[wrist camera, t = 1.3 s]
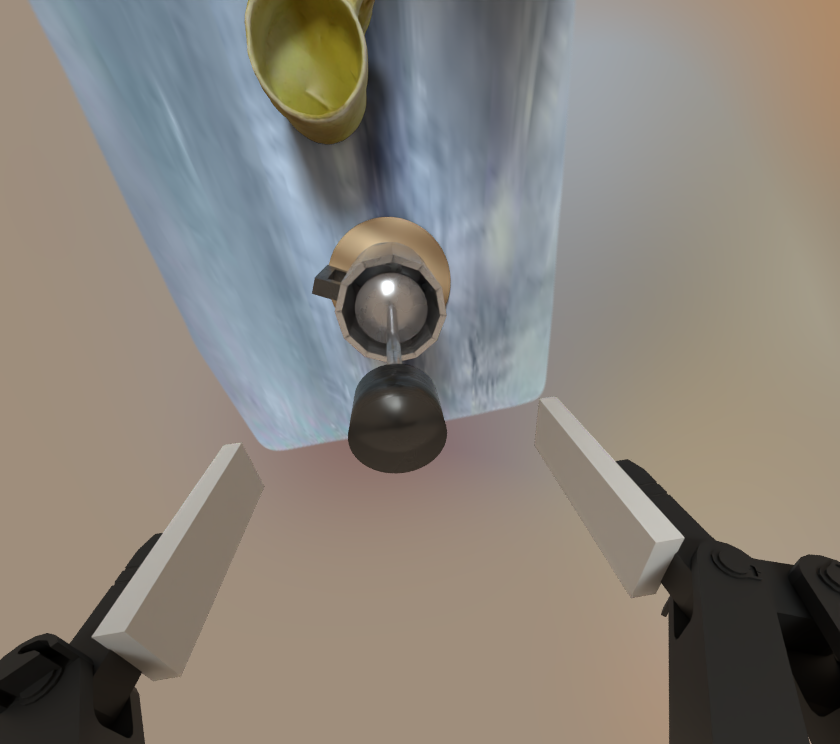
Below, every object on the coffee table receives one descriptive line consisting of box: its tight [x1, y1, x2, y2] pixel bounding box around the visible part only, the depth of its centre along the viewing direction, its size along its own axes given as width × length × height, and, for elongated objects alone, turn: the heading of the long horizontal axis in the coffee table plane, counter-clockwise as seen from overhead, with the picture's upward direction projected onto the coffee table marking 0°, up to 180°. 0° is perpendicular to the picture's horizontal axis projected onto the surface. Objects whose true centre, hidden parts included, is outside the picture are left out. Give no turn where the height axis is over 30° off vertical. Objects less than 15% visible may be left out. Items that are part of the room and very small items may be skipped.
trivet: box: [329, 217, 450, 308], centre depth 40 cm, size 16×16×1 cm
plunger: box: [348, 272, 447, 473], centre depth 22 cm, size 7×7×20 cm
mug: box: [245, 0, 375, 144], centre depth 27 cm, size 12×10×10 cm
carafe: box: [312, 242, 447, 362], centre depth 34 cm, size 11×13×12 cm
